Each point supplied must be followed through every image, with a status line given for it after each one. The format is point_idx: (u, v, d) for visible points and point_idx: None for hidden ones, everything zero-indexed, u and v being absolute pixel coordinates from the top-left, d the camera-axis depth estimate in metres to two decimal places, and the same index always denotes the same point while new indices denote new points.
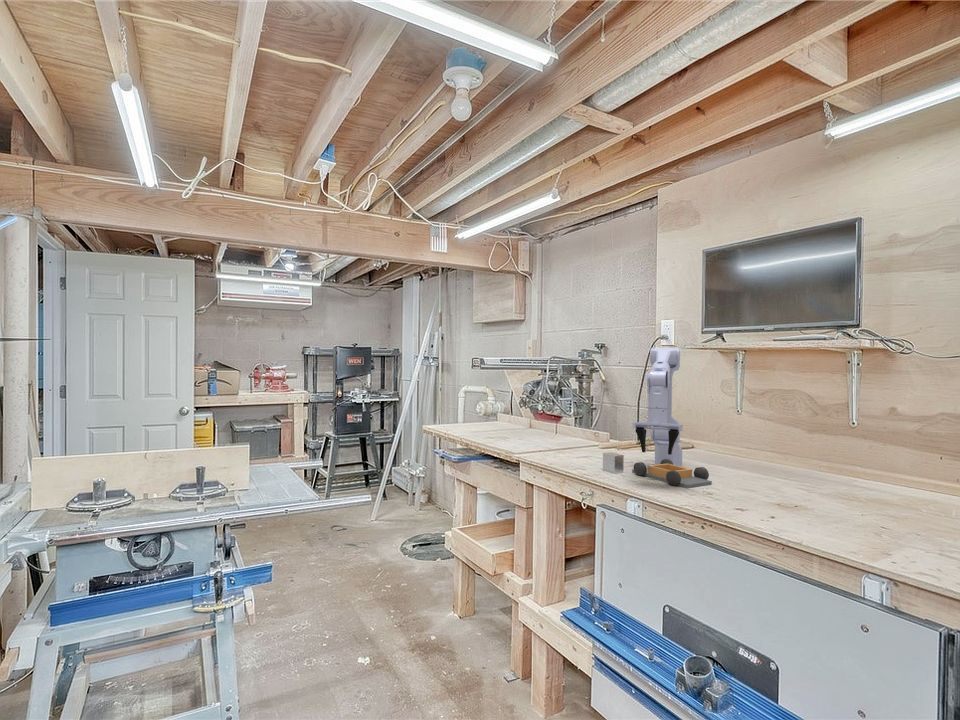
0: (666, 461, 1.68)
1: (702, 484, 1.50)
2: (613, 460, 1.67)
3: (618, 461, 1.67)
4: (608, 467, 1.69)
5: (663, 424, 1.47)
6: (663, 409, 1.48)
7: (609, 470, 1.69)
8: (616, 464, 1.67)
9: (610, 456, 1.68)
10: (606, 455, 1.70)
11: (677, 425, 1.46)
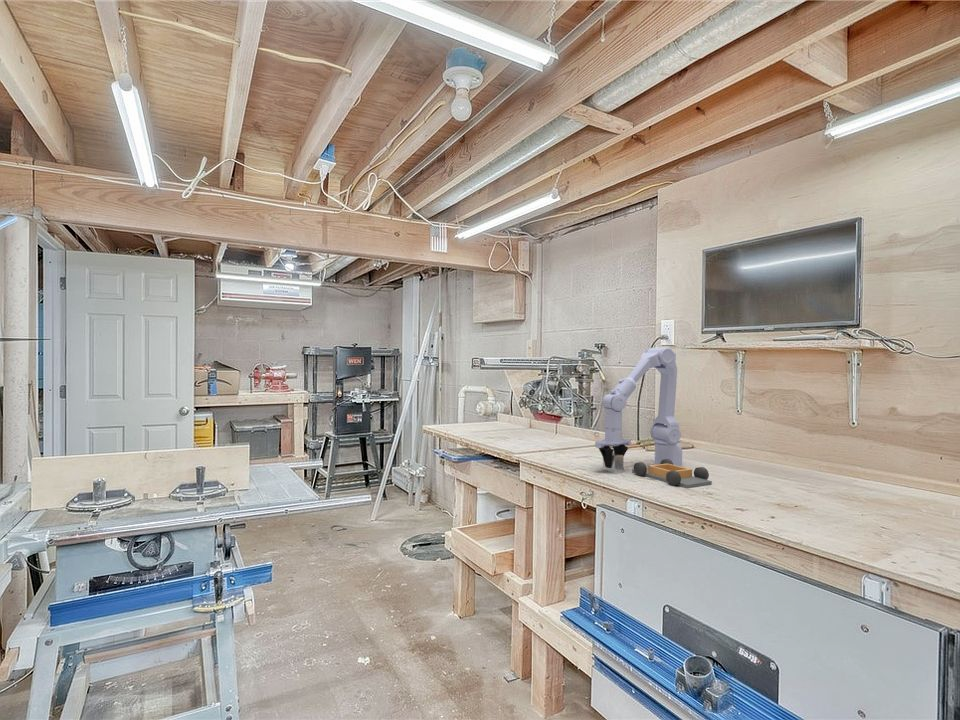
0: (666, 461, 1.68)
1: (702, 484, 1.50)
2: (613, 459, 1.67)
3: (618, 461, 1.67)
4: None
5: None
6: (605, 428, 1.71)
7: (609, 470, 1.69)
8: (616, 463, 1.67)
9: None
10: None
11: None
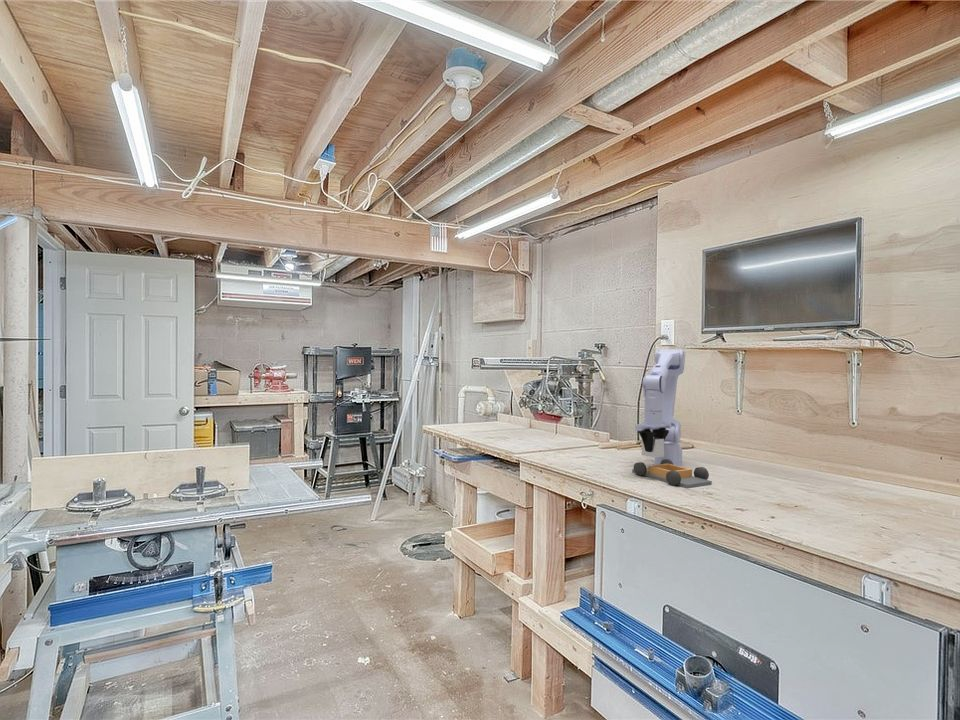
0: (666, 461, 1.68)
1: (702, 484, 1.50)
2: (654, 443, 1.60)
3: (659, 445, 1.60)
4: None
5: None
6: None
7: (649, 454, 1.62)
8: (656, 447, 1.60)
9: None
10: None
11: None
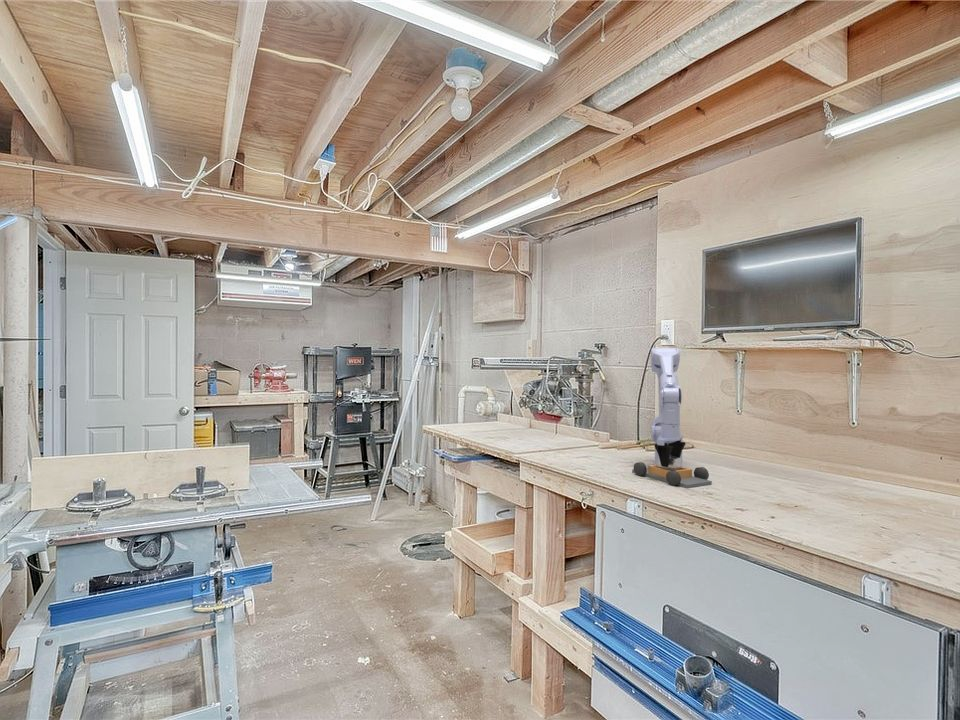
0: None
1: (702, 484, 1.50)
2: (674, 463, 1.57)
3: (677, 464, 1.58)
4: None
5: (660, 437, 1.60)
6: (661, 424, 1.60)
7: None
8: (676, 467, 1.57)
9: None
10: None
11: None
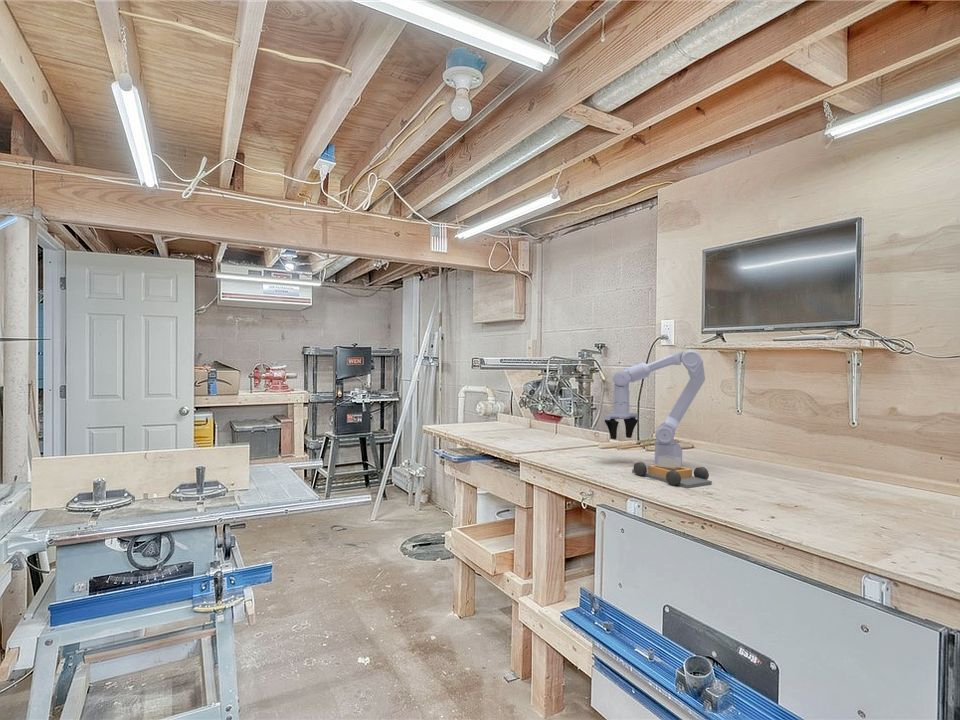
0: None
1: (702, 484, 1.50)
2: (674, 463, 1.57)
3: (677, 464, 1.58)
4: None
5: None
6: None
7: None
8: (676, 467, 1.57)
9: (669, 459, 1.58)
10: (663, 458, 1.60)
11: None
